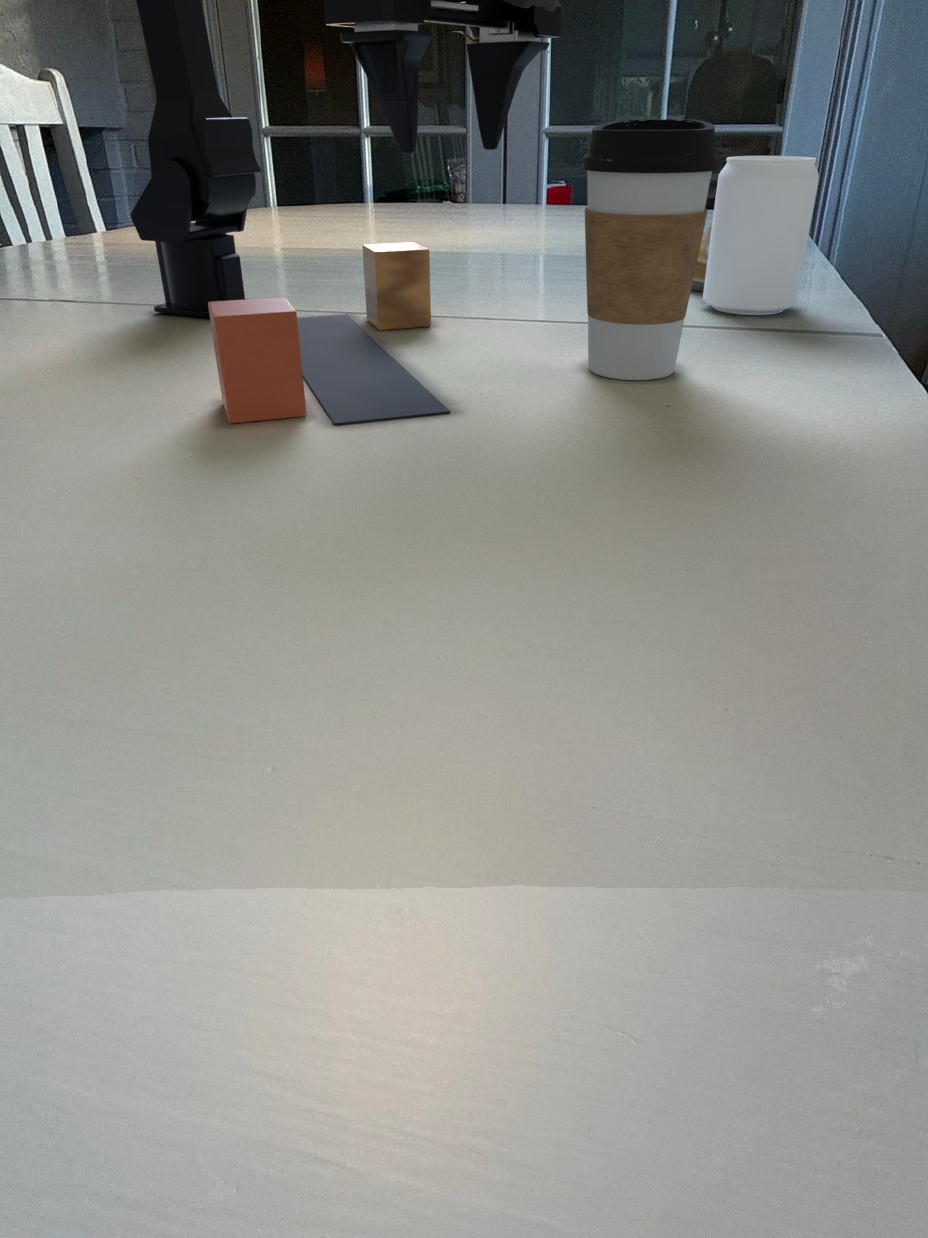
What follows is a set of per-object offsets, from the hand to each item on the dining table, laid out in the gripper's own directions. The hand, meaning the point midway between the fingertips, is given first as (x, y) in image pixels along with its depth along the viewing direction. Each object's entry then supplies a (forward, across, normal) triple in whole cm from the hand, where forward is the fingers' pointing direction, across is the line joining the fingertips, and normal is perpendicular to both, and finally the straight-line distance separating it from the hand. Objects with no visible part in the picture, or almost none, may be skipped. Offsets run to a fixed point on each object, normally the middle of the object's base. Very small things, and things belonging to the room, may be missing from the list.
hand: (451, 151), depth 64 cm
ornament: (+13, +32, -8) cm, 35 cm away
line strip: (+13, -12, 0) cm, 17 cm away
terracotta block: (+13, -23, -5) cm, 27 cm away
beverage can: (+13, +24, -14) cm, 31 cm away
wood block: (+13, 0, +6) cm, 14 cm away
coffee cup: (+13, -1, -18) cm, 22 cm away
